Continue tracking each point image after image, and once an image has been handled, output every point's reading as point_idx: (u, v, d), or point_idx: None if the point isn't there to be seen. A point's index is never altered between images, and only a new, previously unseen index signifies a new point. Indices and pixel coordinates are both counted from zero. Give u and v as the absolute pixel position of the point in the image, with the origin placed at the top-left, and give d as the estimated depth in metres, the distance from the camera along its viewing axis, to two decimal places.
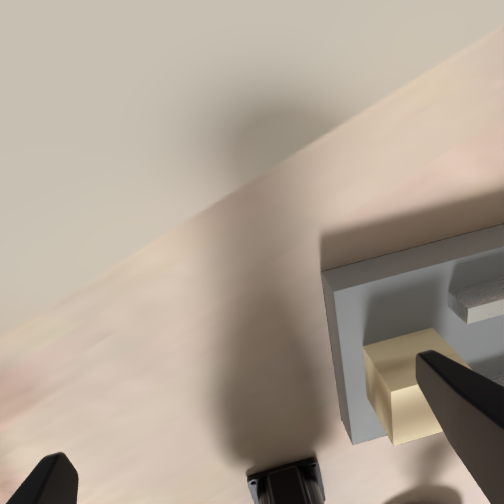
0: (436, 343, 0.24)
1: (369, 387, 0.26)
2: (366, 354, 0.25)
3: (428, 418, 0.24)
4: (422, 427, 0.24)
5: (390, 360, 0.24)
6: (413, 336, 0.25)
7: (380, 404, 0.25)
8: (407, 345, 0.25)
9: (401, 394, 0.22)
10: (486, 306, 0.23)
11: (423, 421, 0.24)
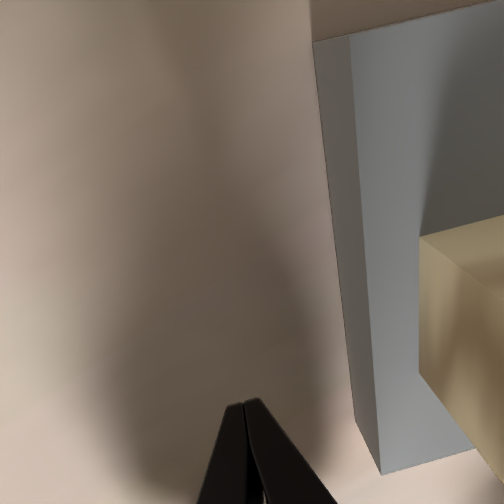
0: None
1: (431, 345, 0.11)
2: (432, 252, 0.09)
3: None
4: None
5: None
6: None
7: (472, 384, 0.09)
8: None
9: None
10: None
11: None
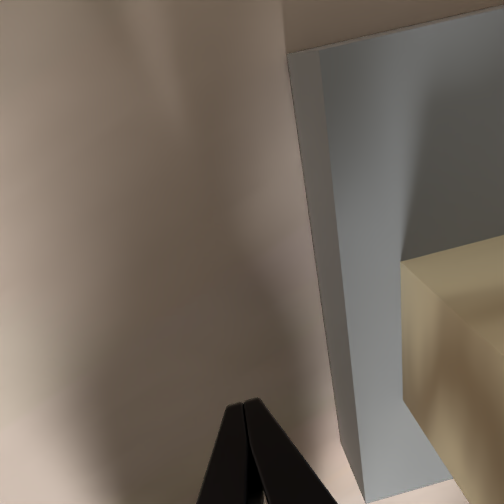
0: None
1: (414, 375, 0.10)
2: (413, 280, 0.09)
3: None
4: None
5: (492, 287, 0.08)
6: None
7: (454, 421, 0.09)
8: None
9: None
10: None
11: None
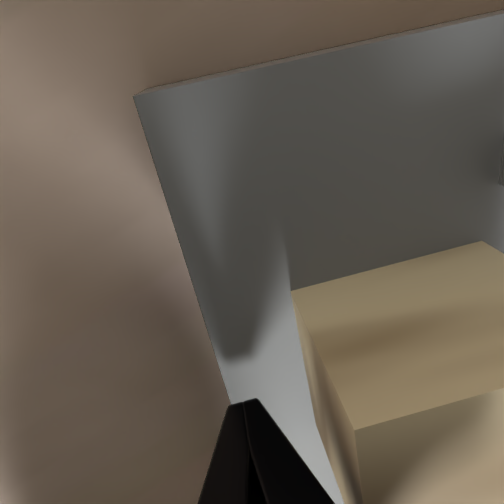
0: (501, 274, 0.08)
1: (315, 402, 0.10)
2: (298, 311, 0.09)
3: None
4: None
5: (362, 322, 0.08)
6: (430, 261, 0.09)
7: (336, 454, 0.09)
8: (416, 283, 0.09)
9: (393, 439, 0.06)
10: None
11: None
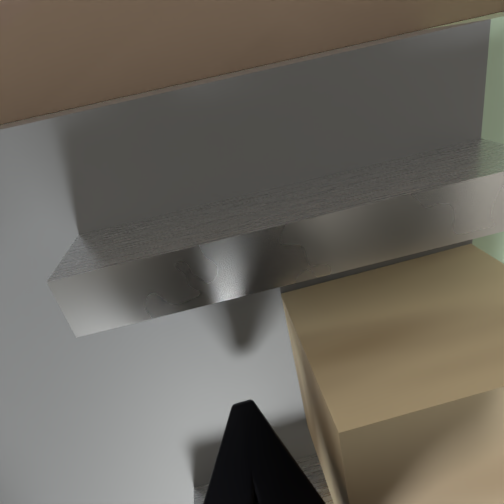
0: (489, 278, 0.08)
1: (306, 404, 0.10)
2: (287, 313, 0.09)
3: None
4: None
5: (350, 325, 0.08)
6: (420, 264, 0.09)
7: (325, 456, 0.09)
8: (405, 286, 0.09)
9: (378, 442, 0.06)
10: (122, 275, 0.06)
11: None
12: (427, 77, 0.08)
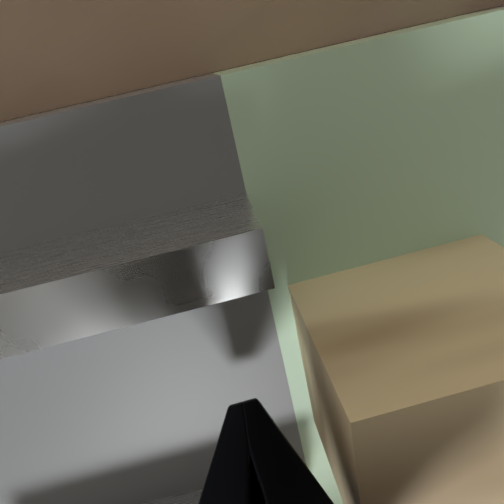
0: (501, 268, 0.08)
1: (313, 398, 0.10)
2: (295, 305, 0.09)
3: None
4: None
5: (359, 315, 0.08)
6: (430, 255, 0.09)
7: (334, 450, 0.08)
8: (414, 277, 0.08)
9: (391, 432, 0.06)
10: None
11: None
12: (165, 135, 0.07)
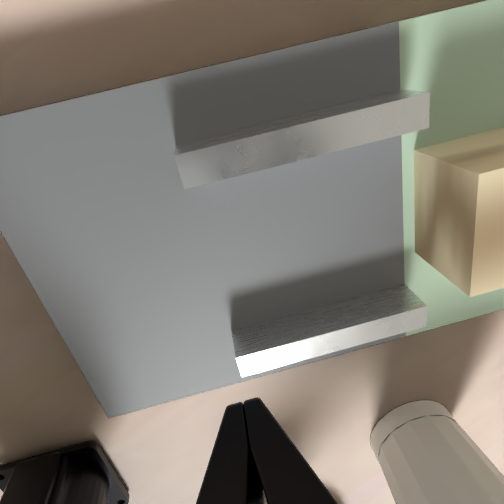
0: None
1: (422, 225, 0.17)
2: (421, 157, 0.15)
3: None
4: None
5: (465, 152, 0.14)
6: (495, 131, 0.16)
7: (446, 235, 0.15)
8: (490, 138, 0.15)
9: (495, 183, 0.13)
10: (210, 153, 0.13)
11: None
12: (366, 54, 0.14)
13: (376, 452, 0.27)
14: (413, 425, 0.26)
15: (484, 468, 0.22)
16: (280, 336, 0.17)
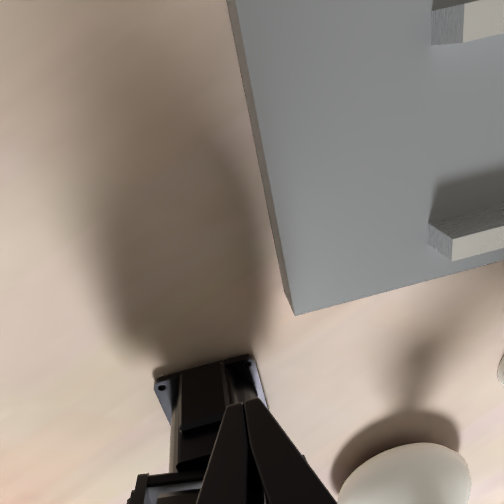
0: None
1: None
2: None
3: None
4: None
5: None
6: None
7: None
8: None
9: None
10: (496, 3, 0.13)
11: None
12: None
13: None
14: None
15: None
16: (488, 222, 0.18)
